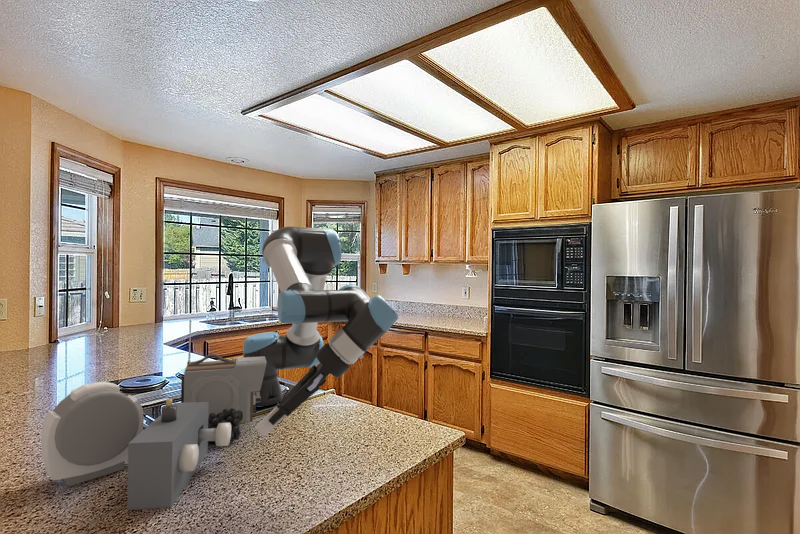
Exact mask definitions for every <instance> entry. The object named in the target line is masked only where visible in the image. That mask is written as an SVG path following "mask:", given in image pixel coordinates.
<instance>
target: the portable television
mask: <svg viewBox="0 0 800 534" xmlns="http://www.w3.org/2000/svg"><path fill="white" fill-rule="evenodd" d="M191 334H192V320H191V319H190V320H189V341H188V357H187V358H188V360H187V363H186V364H187V365H186V367H185V369H184V372H183V375H180V376H179V378H180V379H179V380H181V384H180V385H181V387H180V388H181V390H180V391H181V392H180V403H186V402H209V405H208V418H209V415H210V414H211V413H215V414H216V415H217V414H218V413H220V412H222V411H223V410H224V409H228V410H229V409H231V408H234V409H235V410H237V411H242V412H243V419H242V420H241V421H240V422H242V423H244V424H248V423H251V422H253V414H254V415H255V414H257V408H256V407H255V404H256V402H260V399H261V397H260V392H257V391H260V390H261V386H262V381H263V377H264V373H265V369H266V364H267V361H266V358H265V356H262V357H245V358H243V357H235V358H232V359H231V358H230V359H228V358H225V357H224V358H223V357H222V356H220V355H218V354H215V353H211V354H208V355H206V356H204V357H203V358H201V359H199V360H195V361H191V342H192V341H191V336H192V335H191ZM210 358H216V359H218V360H213V361H210V360H209V361H205V360H207V359H210ZM255 392H256V394H255Z"/></svg>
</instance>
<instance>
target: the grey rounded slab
mask: <svg viewBox="0 0 800 534" xmlns="http://www.w3.org/2000/svg"><path fill="white" fill-rule="evenodd" d="M142 406H143V405H142V404H141V403H140V400H139V399H137V398H135V397H134V396H132V395H130V394H128V395H125V394H124V393H122V392H120V386H119V385H117V384H116V383H113V382H109V381H99V382H91V383H87V384H82V385H81V386H79V387H77V388H74V389H73V390H71V392H70V393H69V394H68V395H67V396H65V397H64V398H63V399H62V400H61V401H59V402H58V404H57V405H56V406H55V407H54V408H53V410H52V411H51V410H48V412H47V414H46V415H45V417H44V419H43V422H42V426H41V433H40V440H41V441H40V445H41V446H40V447H41V454H42V461H43V465H44V469H45V472H46V474H47V475H48V476H49V478H50V479H51V481H58V480H63V481H64V483H65V484H66V485H67V486H68V487H71V486H74V485H77V484H82V483H85V482H87V481H91V480H94V479H96V478H100V477H103V476H106V475H109V474H113V473H117V472H119V471H122V470H125V469H126V461H128V443H129V442H130V441H132V440H133V439H134V438H135V437H136V436H137V435H138V434H140V433H141V432H142V431H143V430H144V419H145V417H144V410H143V407H142Z"/></svg>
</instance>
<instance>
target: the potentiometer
mask: <svg viewBox="0 0 800 534" xmlns="http://www.w3.org/2000/svg"><path fill="white" fill-rule="evenodd" d="M160 410H161V411H160V412H161V413H160V415H161V422H164V423H167V422H173V421H175V420H176V419H177V405H174V403H173V398H166V399H165V405H162V406H161V409H160Z"/></svg>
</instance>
